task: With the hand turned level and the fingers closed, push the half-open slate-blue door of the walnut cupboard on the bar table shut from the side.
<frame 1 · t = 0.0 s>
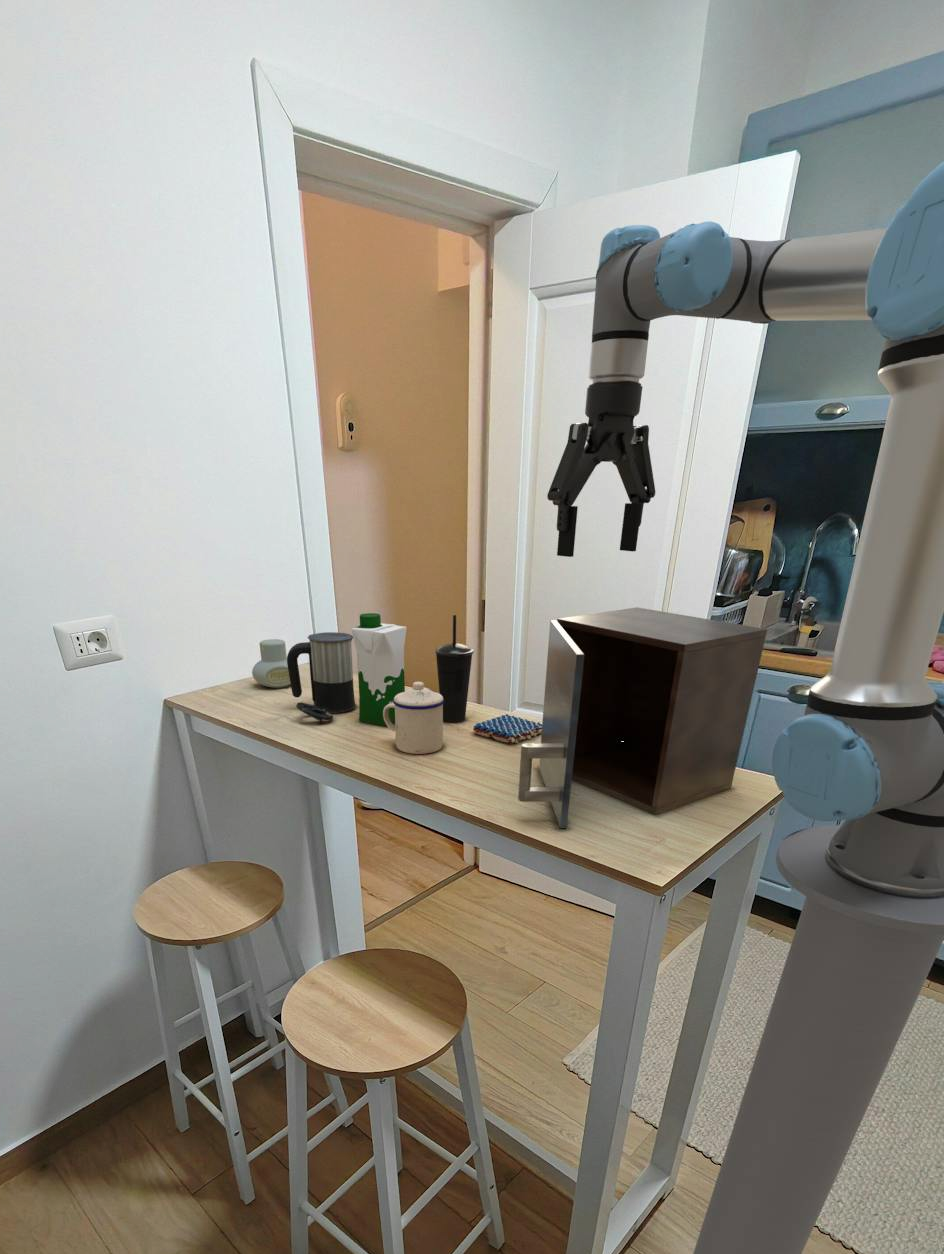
hand: (597, 553, 109), 32 cm above the table, tool pointing down, fingers open, 13 cm apart
drinking cup: (453, 720, 146), on the table
cupboard: (634, 777, 117), on the table
woven mat: (508, 734, 137), on the table
milk frother: (328, 714, 150), on the table
cupboard door: (538, 720, 104), point 12 cm above the table, hinge at 35.0°
air freshener: (277, 686, 170), on the table
teacup with lid: (412, 746, 132), on the table
milk carton: (383, 720, 145), on the table
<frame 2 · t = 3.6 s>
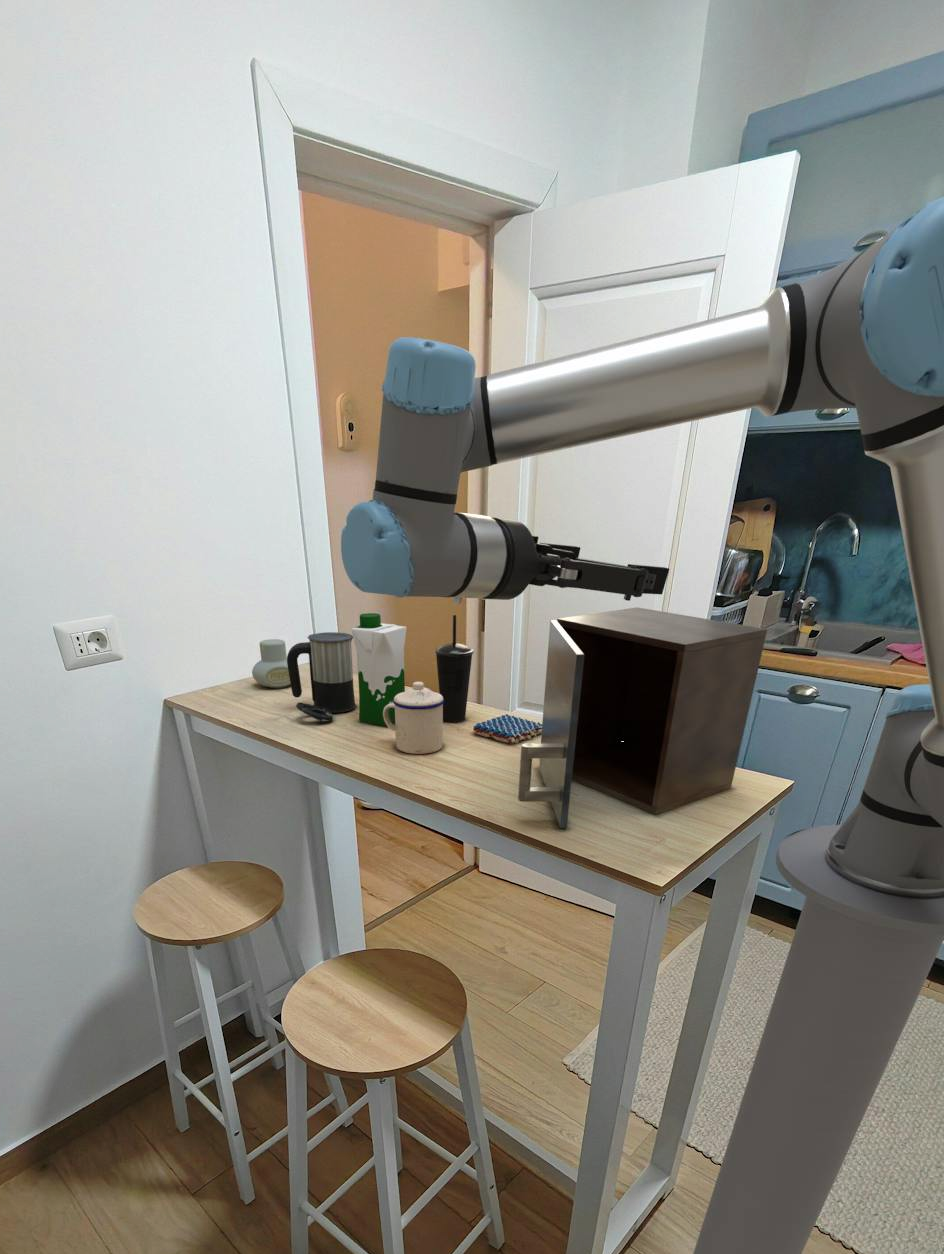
hand: (617, 569, 84), 33 cm above the table, tool horizontal, fingers open, 13 cm apart
nothing on the table moved.
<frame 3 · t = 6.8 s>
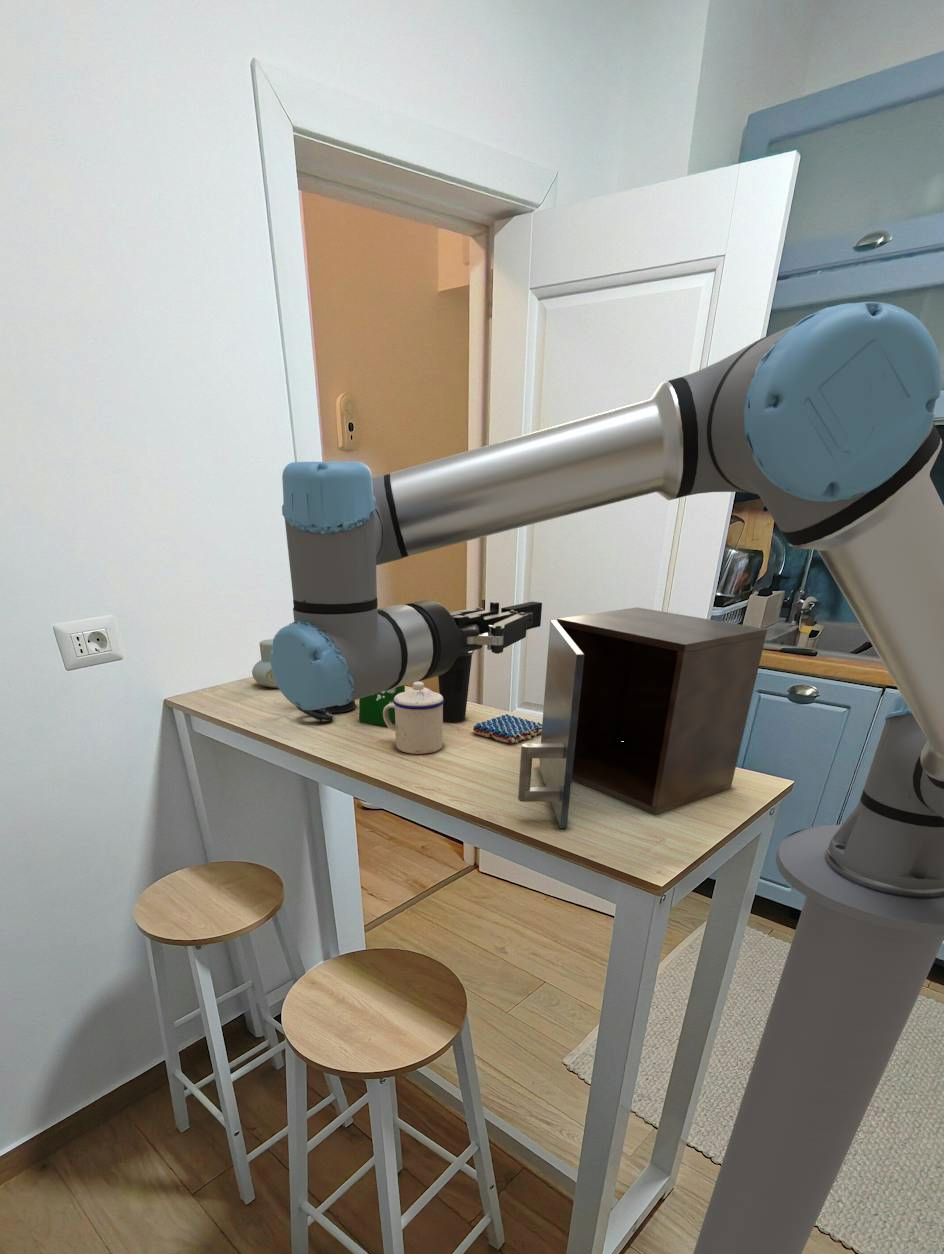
hand: (536, 613, 87), 28 cm above the table, tool horizontal, fingers closed
nothing on the table moved.
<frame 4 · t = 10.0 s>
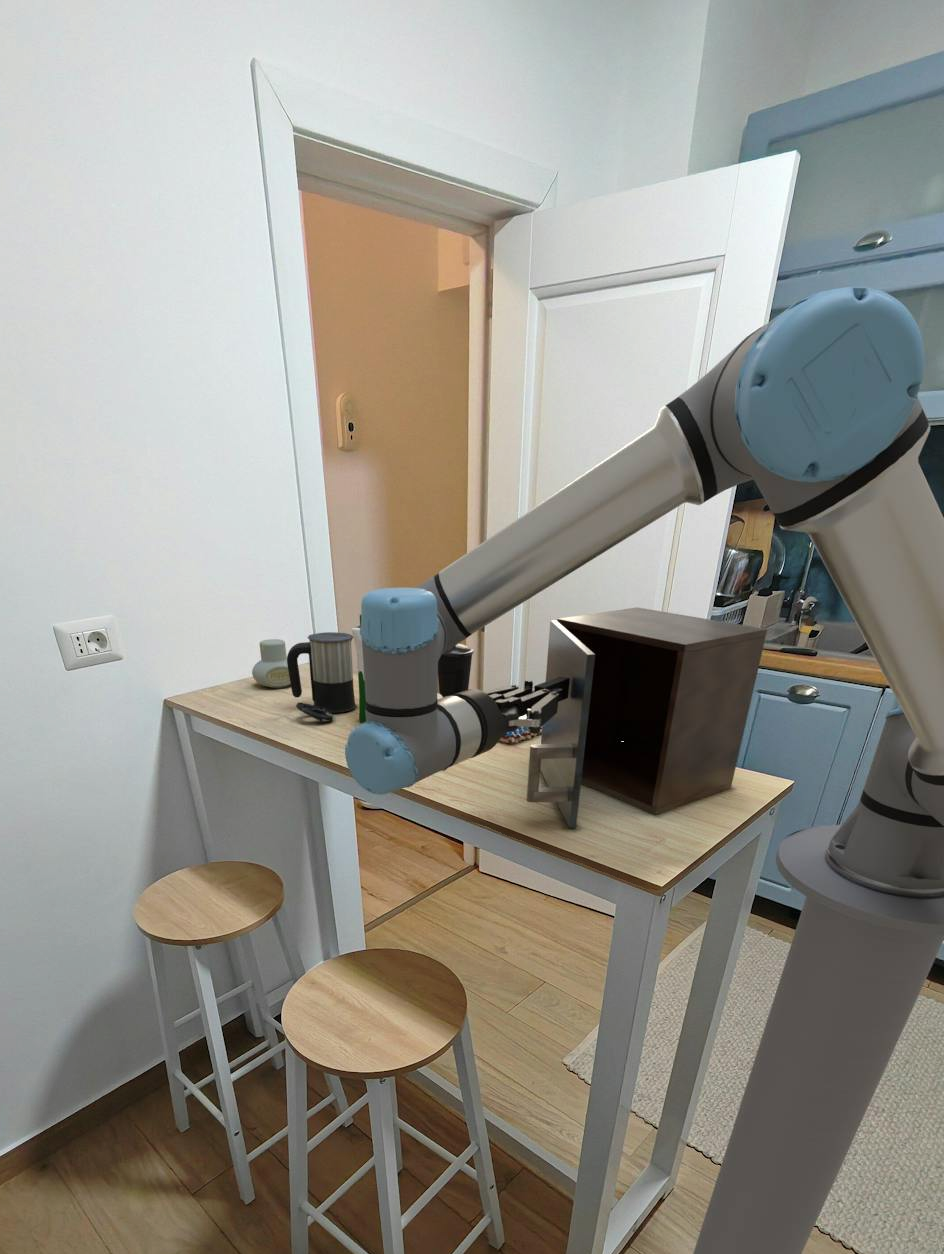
hand: (564, 687, 98), 18 cm above the table, tool horizontal, fingers closed
cupboard door: (543, 720, 104), point 12 cm above the table, hinge at 31.8°, touching gripper
everything else where it was.
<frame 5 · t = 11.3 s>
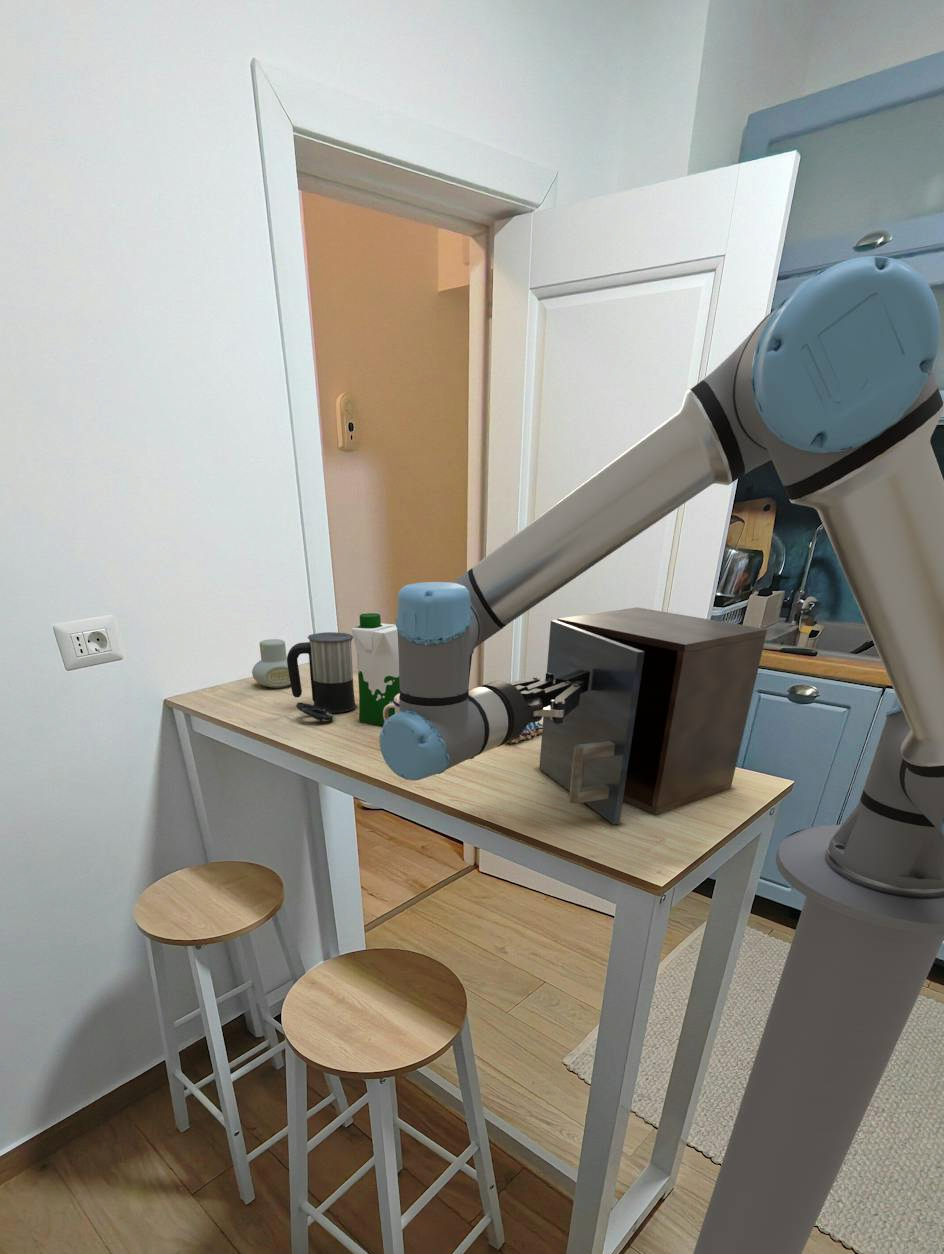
hand: (583, 680, 101), 18 cm above the table, tool horizontal, fingers closed
cupboard door: (566, 720, 104), point 12 cm above the table, hinge at 15.9°, touching gripper
everything else where it was.
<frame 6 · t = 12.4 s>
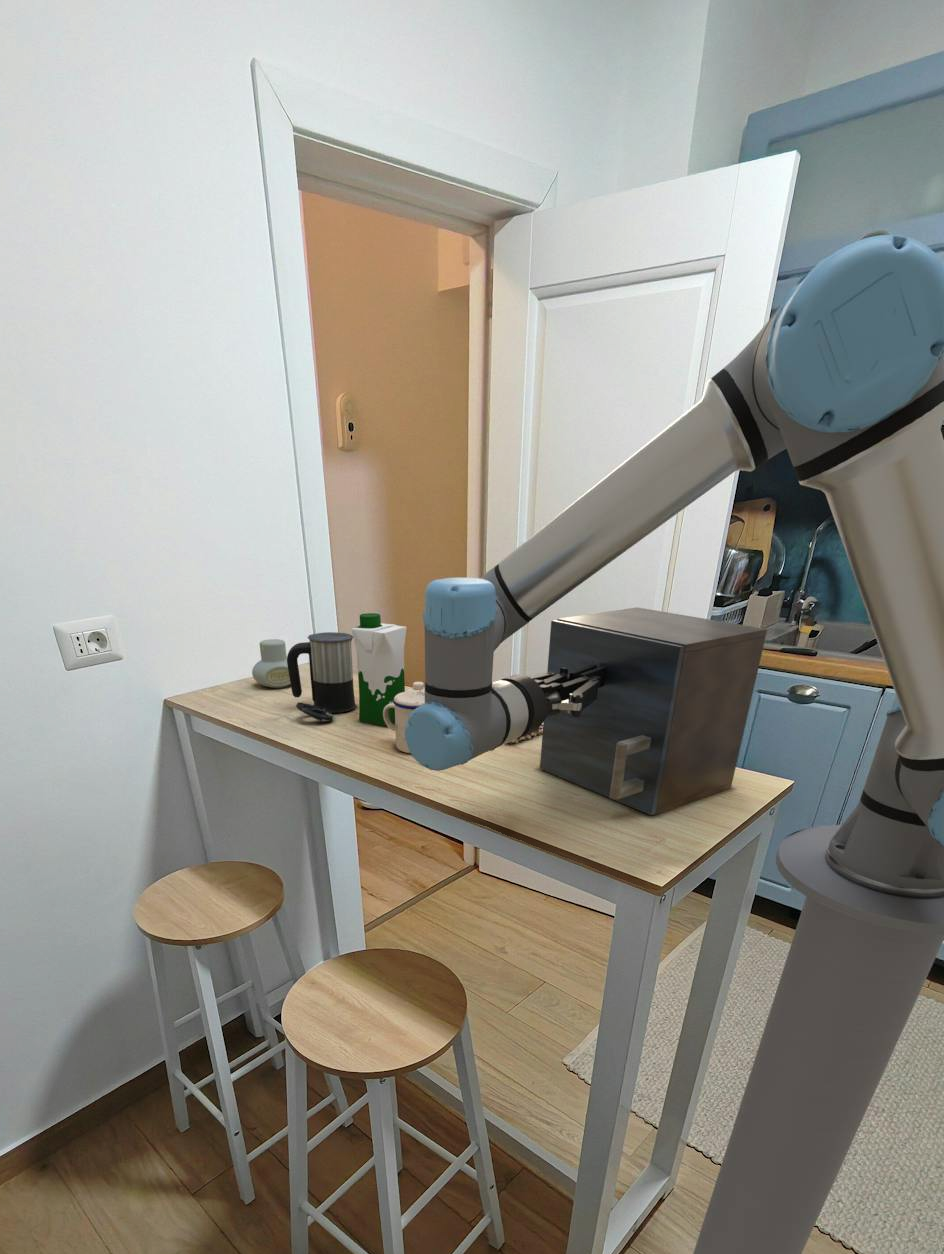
hand: (598, 675, 103), 18 cm above the table, tool horizontal, fingers closed
cupboard door: (588, 719, 105), point 12 cm above the table, hinge at -0.6°, touching cupboard, gripper
everything else where it was.
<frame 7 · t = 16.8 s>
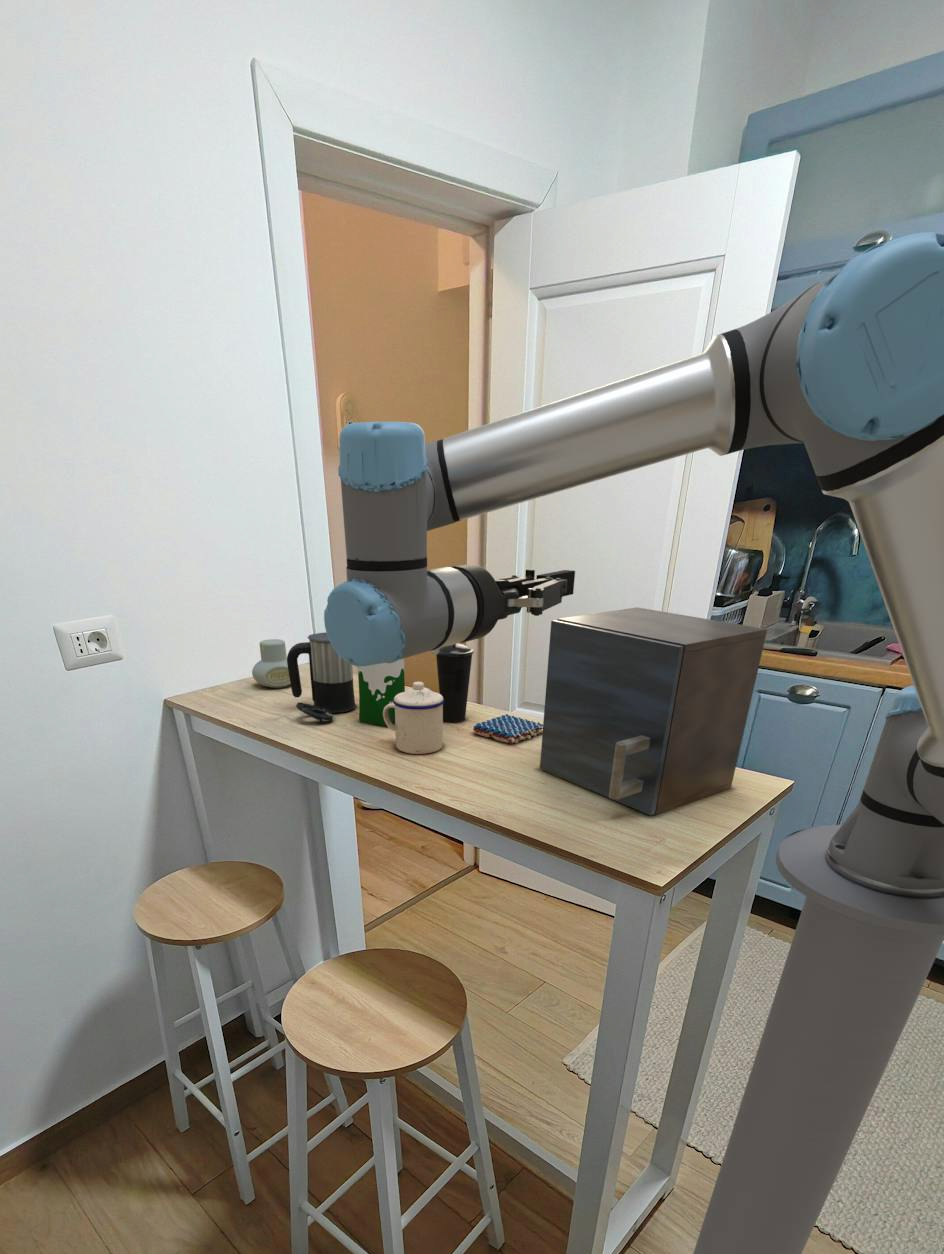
hand: (569, 582, 90), 31 cm above the table, tool horizontal, fingers closed
cupboard door: (588, 719, 105), point 12 cm above the table, hinge at -0.2°
everything else where it was.
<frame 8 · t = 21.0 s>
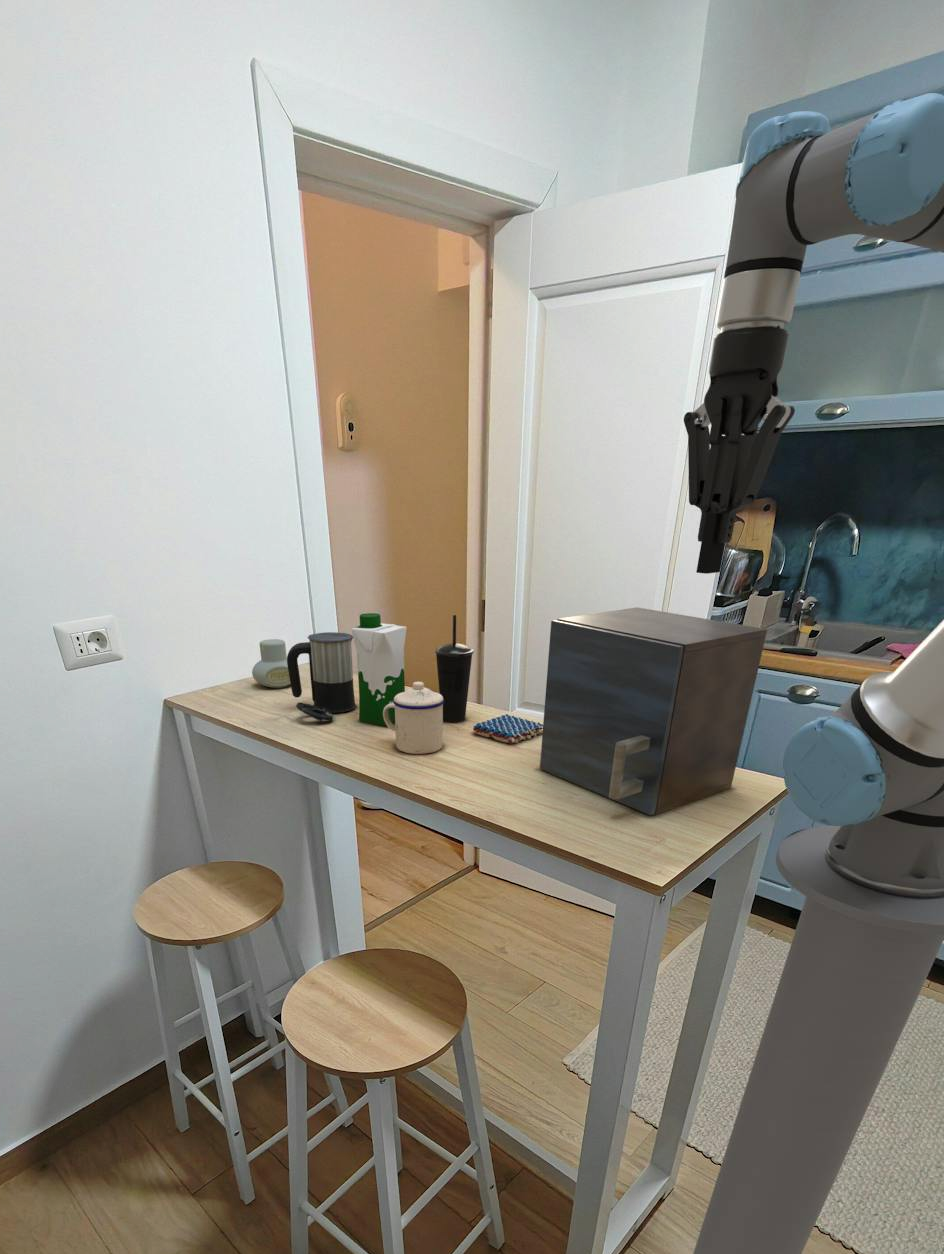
hand: (708, 572, 88), 32 cm above the table, tool pointing down, fingers closed
nothing on the table moved.
at the end: cupboard door at +0° (first picture: +35°); teacup with lid moved 0.2 cm from its start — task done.
